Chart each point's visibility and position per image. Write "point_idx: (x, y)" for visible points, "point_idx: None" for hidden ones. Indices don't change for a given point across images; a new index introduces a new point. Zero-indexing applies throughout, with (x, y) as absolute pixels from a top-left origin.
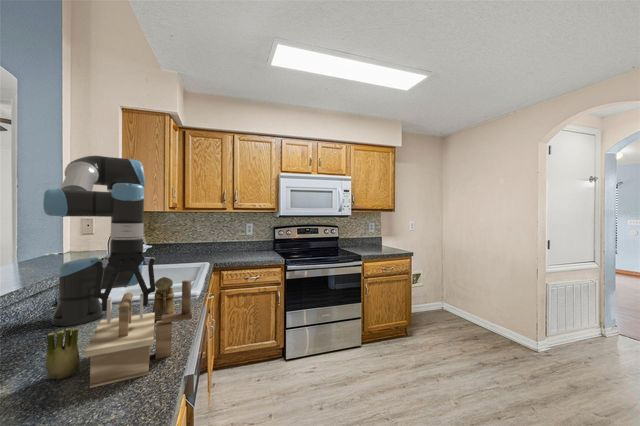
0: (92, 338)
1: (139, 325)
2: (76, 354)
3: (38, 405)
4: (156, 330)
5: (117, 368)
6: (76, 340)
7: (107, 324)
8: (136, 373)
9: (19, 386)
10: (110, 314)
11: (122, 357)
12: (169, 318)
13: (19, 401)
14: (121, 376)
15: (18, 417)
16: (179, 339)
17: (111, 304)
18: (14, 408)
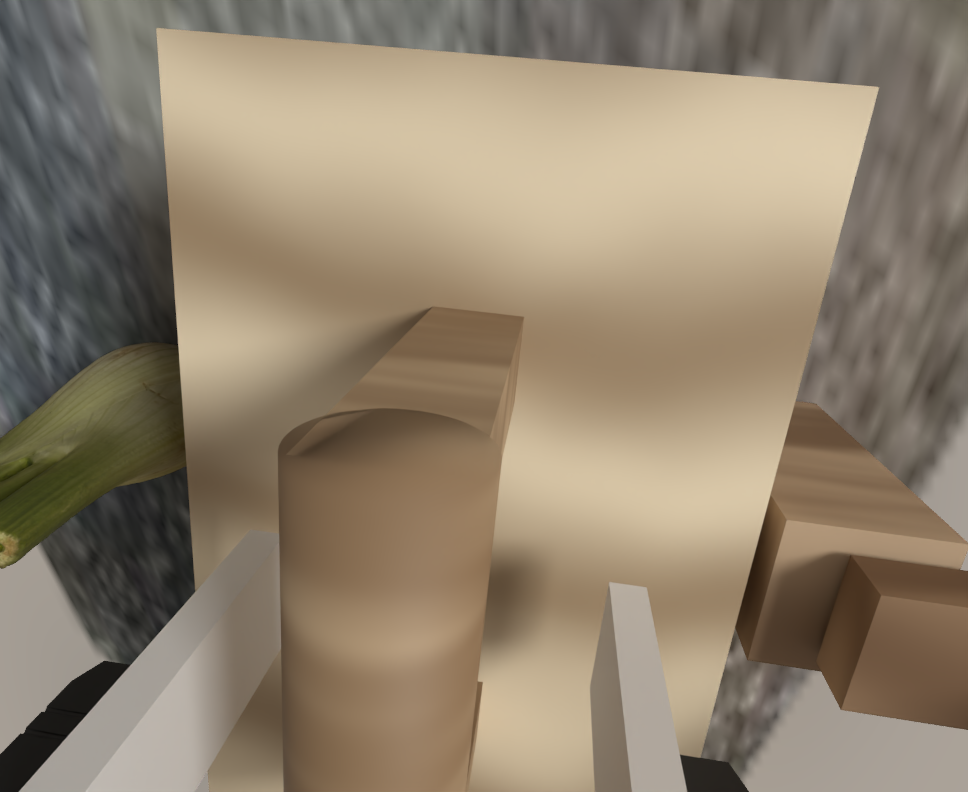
0: None
1: (594, 543)
2: (168, 463)
3: (167, 619)
4: (738, 627)
5: None
6: (90, 503)
7: (267, 292)
8: None
9: (4, 378)
10: (237, 695)
11: None
12: (925, 713)
13: (75, 538)
14: None
15: (128, 661)
16: (960, 218)
17: (158, 735)
18: (82, 586)
